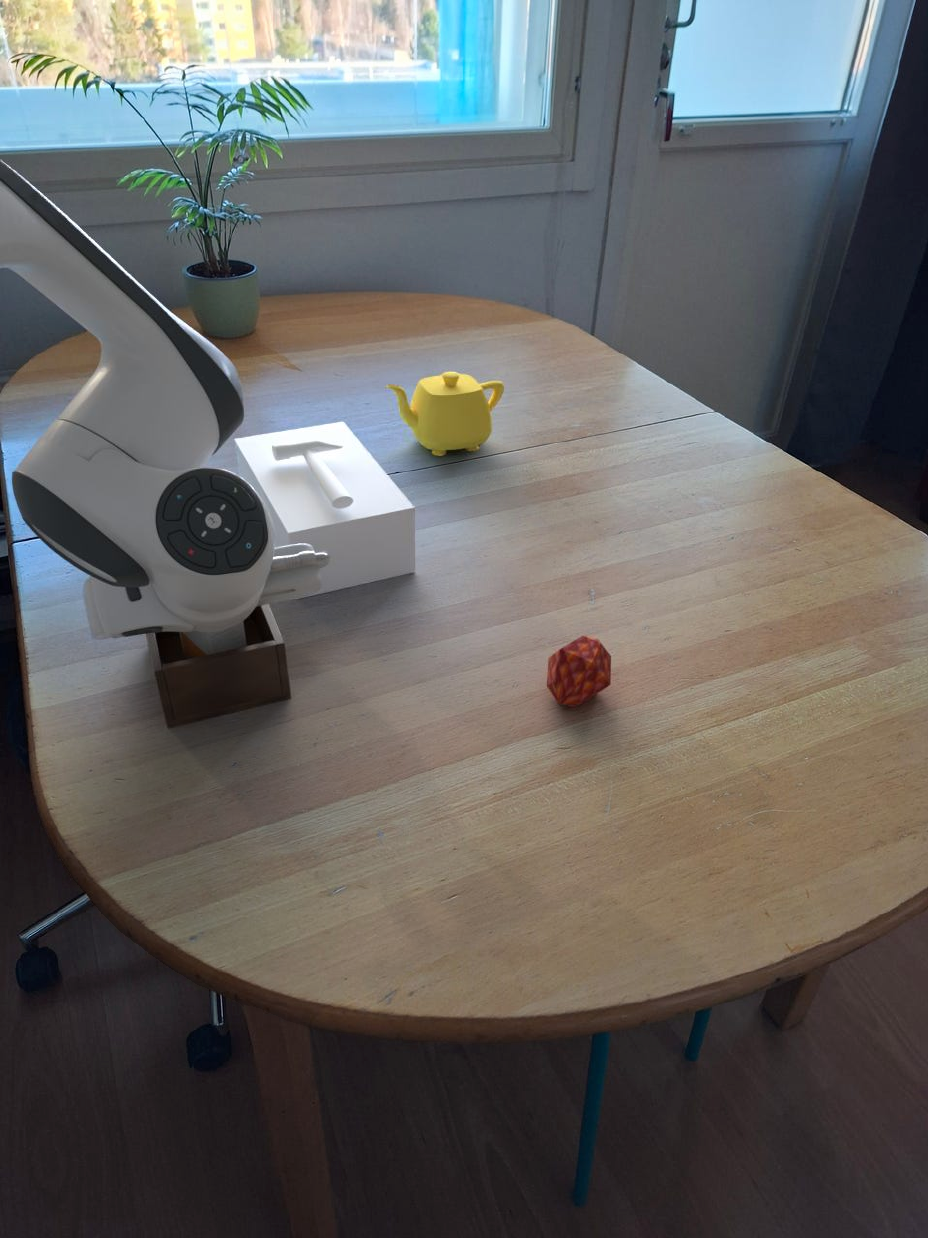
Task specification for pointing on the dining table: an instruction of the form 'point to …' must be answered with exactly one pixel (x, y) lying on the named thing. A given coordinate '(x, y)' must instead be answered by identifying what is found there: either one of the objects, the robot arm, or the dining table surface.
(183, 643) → the cosmetic box
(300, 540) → the hammer relief block
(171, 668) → the holder
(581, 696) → the decorative stone
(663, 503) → the dining table surface
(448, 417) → the teapot
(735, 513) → the dining table surface
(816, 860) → the dining table surface
